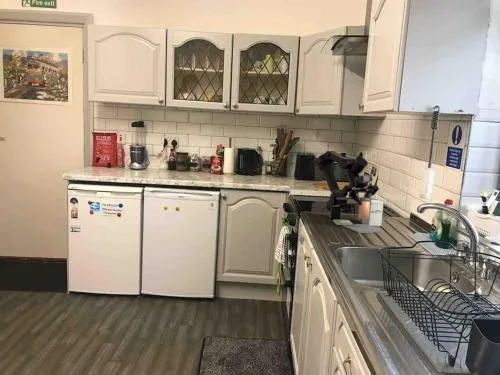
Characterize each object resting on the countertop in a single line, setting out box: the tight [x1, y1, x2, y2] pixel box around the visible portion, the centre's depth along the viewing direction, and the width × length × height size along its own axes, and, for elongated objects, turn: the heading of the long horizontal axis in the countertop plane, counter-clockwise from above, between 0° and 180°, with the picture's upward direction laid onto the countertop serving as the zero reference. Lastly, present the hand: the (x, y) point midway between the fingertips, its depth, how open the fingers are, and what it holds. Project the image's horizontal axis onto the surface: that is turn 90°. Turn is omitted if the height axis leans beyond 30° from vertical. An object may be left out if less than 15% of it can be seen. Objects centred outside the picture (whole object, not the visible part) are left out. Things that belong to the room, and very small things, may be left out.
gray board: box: [342, 223, 385, 234], centre depth 214 cm, size 14×14×1 cm
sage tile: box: [332, 219, 354, 226], centre depth 226 cm, size 8×8×1 cm
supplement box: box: [361, 199, 384, 227], centre depth 225 cm, size 7×7×13 cm
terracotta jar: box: [358, 196, 370, 220], centre depth 213 cm, size 5×5×10 cm
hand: (365, 204), depth 211 cm, fingers closed on terracotta jar, 5 cm apart
